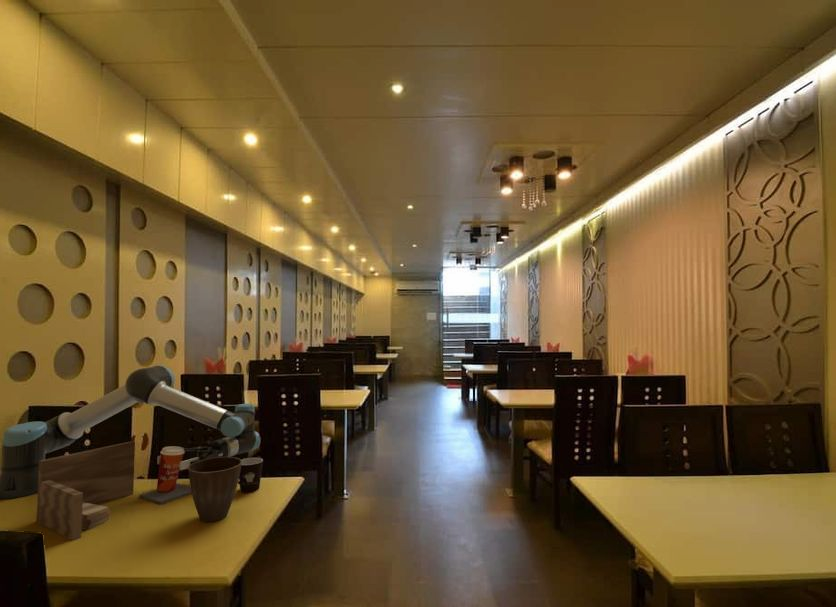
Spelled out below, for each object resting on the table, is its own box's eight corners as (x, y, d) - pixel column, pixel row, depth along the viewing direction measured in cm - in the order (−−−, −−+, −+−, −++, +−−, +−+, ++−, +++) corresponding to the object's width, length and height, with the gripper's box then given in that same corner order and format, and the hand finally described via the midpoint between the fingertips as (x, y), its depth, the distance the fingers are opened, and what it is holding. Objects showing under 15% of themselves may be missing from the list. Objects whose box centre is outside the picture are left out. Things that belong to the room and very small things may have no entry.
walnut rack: (36, 521, 127) (39, 460, 128) (130, 492, 150) (132, 441, 151) (72, 540, 116) (75, 472, 117) (168, 506, 138) (170, 449, 139)
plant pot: (251, 510, 134) (252, 459, 135) (215, 531, 120) (216, 474, 121) (213, 504, 139) (214, 455, 140) (174, 524, 125) (176, 469, 126)
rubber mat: (139, 497, 146) (139, 494, 146) (176, 485, 157) (176, 482, 157) (160, 504, 139) (160, 501, 139) (198, 491, 151) (198, 489, 151)
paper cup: (159, 494, 145) (167, 452, 146) (149, 487, 149) (157, 447, 151) (182, 489, 151) (189, 449, 153) (172, 483, 156) (179, 444, 157)
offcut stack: (56, 526, 125) (57, 510, 125) (80, 516, 131) (81, 501, 132) (87, 531, 121) (88, 515, 122) (110, 521, 128) (111, 505, 128)
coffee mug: (266, 485, 156) (267, 458, 157) (255, 494, 147) (256, 465, 148) (236, 484, 157) (237, 457, 158) (223, 493, 149) (224, 464, 149)
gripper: (244, 462, 160) (189, 480, 141) (203, 453, 172) (148, 468, 154) (244, 442, 160) (190, 457, 142) (204, 435, 173) (149, 447, 154)
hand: (168, 463), depth 148 cm, fingers open, 13 cm apart
